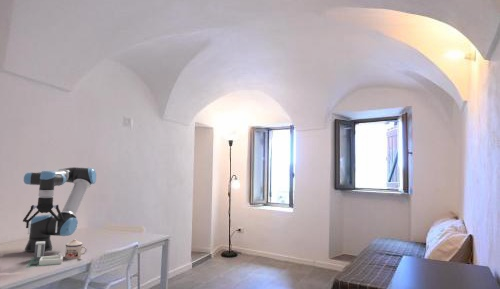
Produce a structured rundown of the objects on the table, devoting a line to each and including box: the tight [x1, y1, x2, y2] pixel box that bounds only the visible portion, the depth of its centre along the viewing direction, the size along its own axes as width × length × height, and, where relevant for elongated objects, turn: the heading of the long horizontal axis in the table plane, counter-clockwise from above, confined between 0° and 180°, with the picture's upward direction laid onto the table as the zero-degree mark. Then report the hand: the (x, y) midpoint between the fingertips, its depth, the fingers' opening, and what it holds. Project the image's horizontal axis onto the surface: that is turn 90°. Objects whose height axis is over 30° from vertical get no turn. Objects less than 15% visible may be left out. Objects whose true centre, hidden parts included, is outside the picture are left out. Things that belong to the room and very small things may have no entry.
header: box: [39, 254, 64, 265], centre depth 181 cm, size 8×11×3 cm
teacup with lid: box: [64, 238, 88, 260], centre depth 195 cm, size 12×9×12 cm
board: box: [26, 252, 62, 268], centre depth 182 cm, size 18×16×3 cm
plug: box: [33, 241, 45, 261], centre depth 185 cm, size 5×4×10 cm
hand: (42, 233), depth 186 cm, fingers open, 13 cm apart
